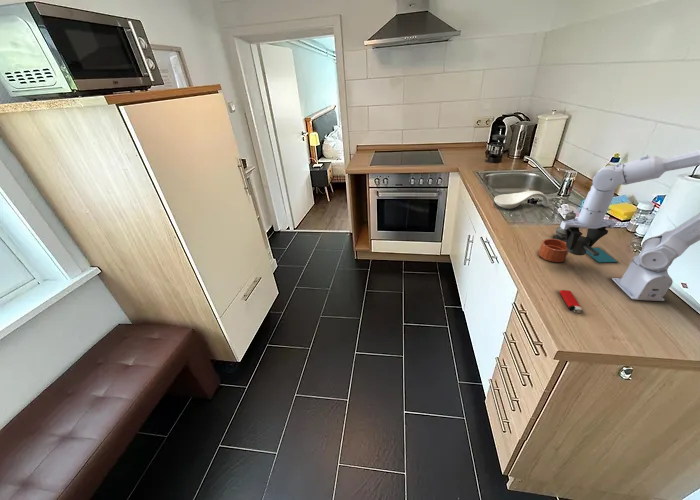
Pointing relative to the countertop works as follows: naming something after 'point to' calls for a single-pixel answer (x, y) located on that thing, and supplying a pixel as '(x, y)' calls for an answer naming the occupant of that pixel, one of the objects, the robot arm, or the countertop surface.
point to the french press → (496, 158)
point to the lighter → (571, 301)
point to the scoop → (582, 247)
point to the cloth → (602, 257)
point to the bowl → (553, 250)
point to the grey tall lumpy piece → (561, 232)
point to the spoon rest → (518, 199)
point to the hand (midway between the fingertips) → (577, 247)
